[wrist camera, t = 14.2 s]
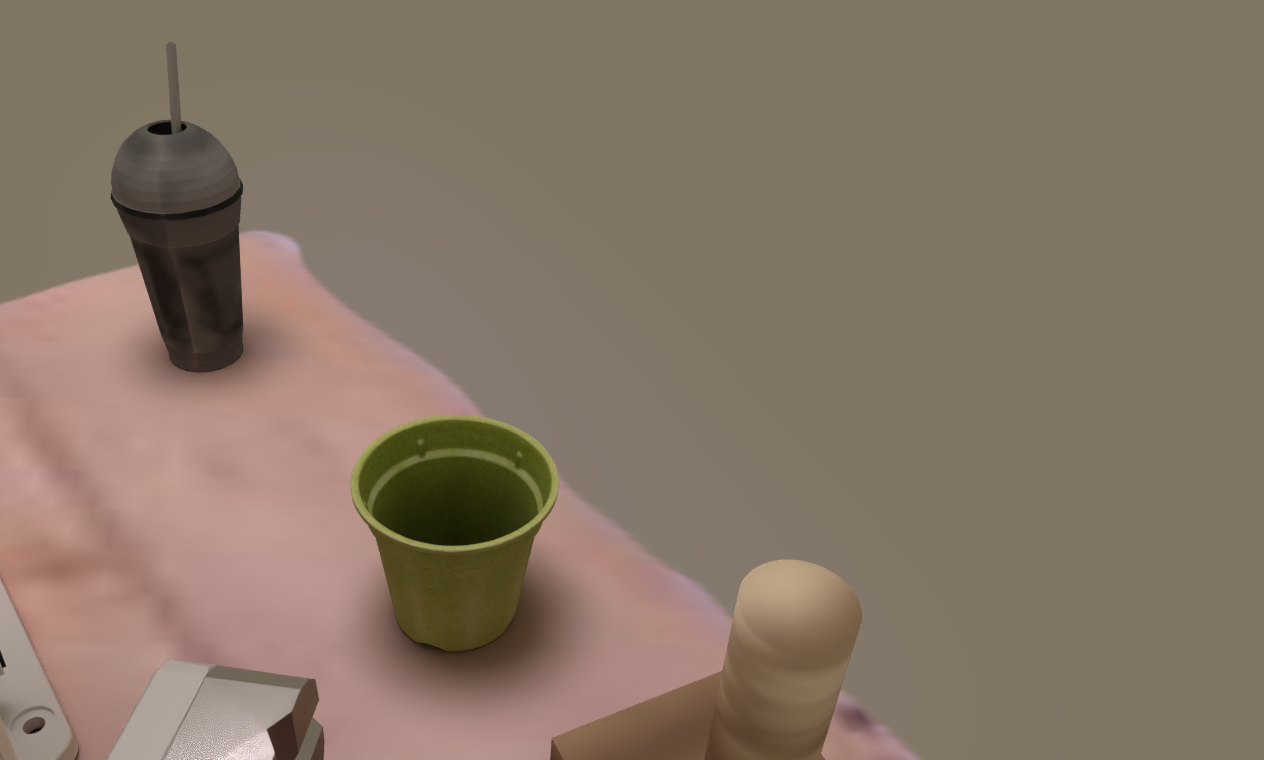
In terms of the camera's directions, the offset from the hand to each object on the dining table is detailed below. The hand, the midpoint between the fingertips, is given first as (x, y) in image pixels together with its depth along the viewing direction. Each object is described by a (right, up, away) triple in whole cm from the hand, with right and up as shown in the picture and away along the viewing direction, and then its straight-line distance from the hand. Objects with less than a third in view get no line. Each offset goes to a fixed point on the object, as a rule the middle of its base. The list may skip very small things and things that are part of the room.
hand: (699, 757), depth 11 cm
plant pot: (-9, -8, +43) cm, 45 cm away
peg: (+3, -16, +33) cm, 37 cm away
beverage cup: (-28, +6, +59) cm, 66 cm away
